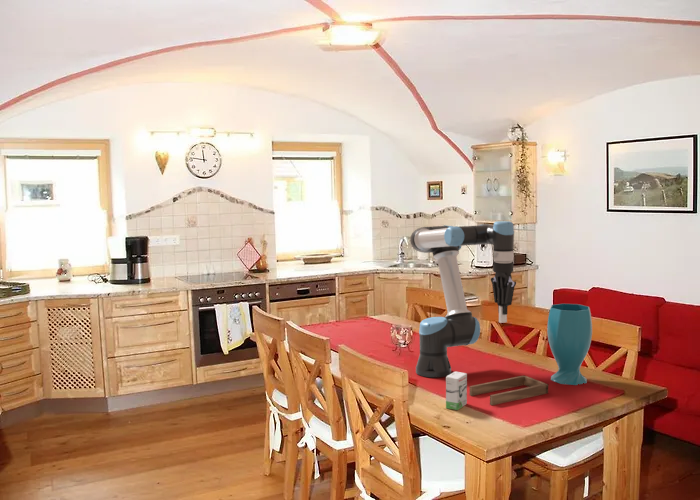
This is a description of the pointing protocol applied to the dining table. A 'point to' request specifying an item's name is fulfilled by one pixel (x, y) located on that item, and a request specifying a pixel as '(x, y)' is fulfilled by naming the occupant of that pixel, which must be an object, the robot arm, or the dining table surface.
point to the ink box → (456, 390)
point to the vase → (569, 340)
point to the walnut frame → (532, 389)
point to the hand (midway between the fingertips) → (502, 322)
